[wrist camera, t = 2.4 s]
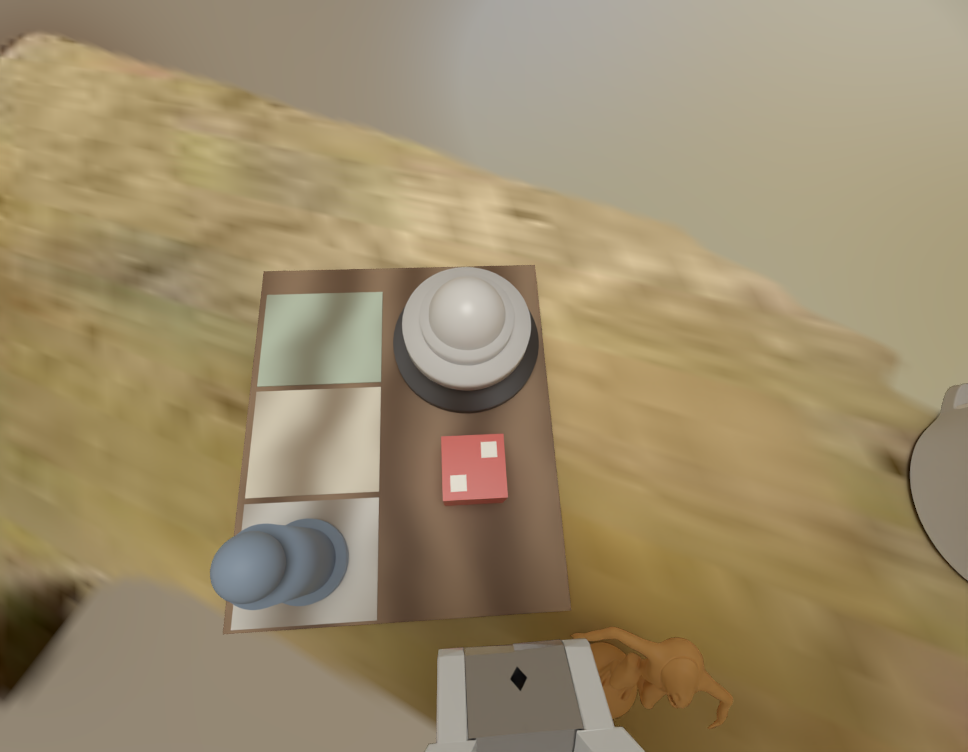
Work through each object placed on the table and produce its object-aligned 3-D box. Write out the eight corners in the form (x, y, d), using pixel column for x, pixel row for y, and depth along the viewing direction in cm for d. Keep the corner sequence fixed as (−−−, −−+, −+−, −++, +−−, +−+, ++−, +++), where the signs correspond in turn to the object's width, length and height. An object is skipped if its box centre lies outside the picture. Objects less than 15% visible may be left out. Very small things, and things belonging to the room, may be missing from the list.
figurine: (525, 667, 31) (561, 737, 20) (564, 579, 33) (618, 597, 22) (641, 738, 30) (750, 856, 19) (675, 644, 32) (793, 698, 21)
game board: (532, 274, 41) (536, 258, 39) (566, 607, 32) (574, 612, 30) (270, 281, 40) (258, 264, 37) (233, 630, 31) (214, 637, 29)
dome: (522, 276, 36) (532, 234, 31) (533, 388, 33) (545, 361, 28) (404, 279, 36) (395, 237, 31) (404, 393, 33) (394, 366, 28)
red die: (498, 445, 34) (503, 433, 30) (502, 502, 33) (508, 497, 29) (443, 448, 34) (441, 436, 30) (444, 505, 33) (442, 500, 29)
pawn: (350, 517, 32) (298, 504, 22) (347, 601, 30) (289, 630, 20) (271, 521, 32) (182, 510, 22) (263, 606, 30) (162, 638, 20)
